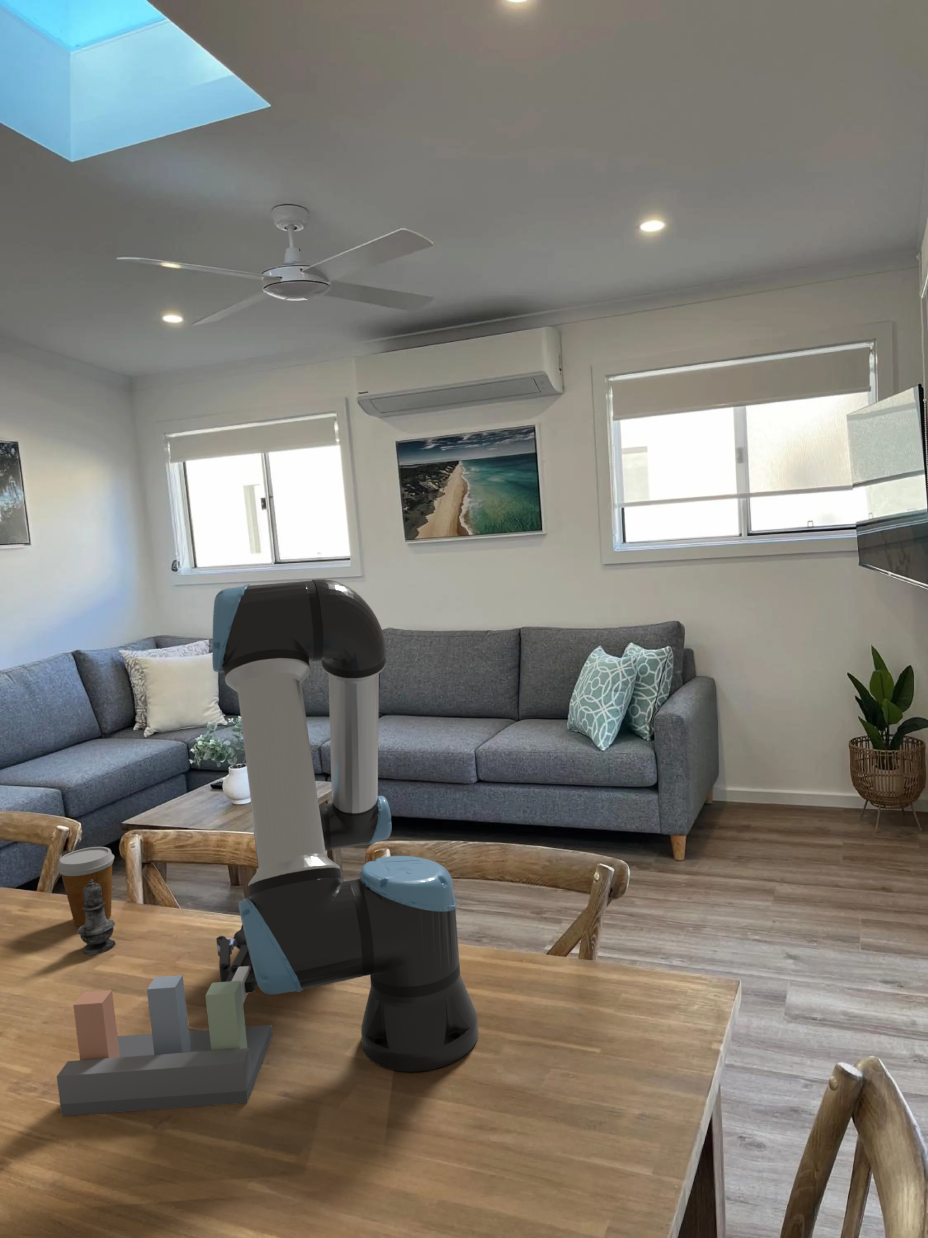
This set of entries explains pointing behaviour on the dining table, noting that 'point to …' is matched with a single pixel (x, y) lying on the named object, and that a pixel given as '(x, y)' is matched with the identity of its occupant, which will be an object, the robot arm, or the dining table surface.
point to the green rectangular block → (226, 1016)
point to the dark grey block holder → (163, 1076)
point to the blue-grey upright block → (168, 1015)
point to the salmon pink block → (96, 1025)
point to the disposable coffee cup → (86, 878)
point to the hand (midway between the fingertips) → (232, 1001)
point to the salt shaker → (95, 922)
